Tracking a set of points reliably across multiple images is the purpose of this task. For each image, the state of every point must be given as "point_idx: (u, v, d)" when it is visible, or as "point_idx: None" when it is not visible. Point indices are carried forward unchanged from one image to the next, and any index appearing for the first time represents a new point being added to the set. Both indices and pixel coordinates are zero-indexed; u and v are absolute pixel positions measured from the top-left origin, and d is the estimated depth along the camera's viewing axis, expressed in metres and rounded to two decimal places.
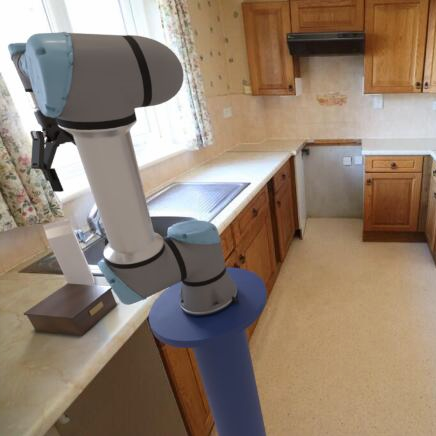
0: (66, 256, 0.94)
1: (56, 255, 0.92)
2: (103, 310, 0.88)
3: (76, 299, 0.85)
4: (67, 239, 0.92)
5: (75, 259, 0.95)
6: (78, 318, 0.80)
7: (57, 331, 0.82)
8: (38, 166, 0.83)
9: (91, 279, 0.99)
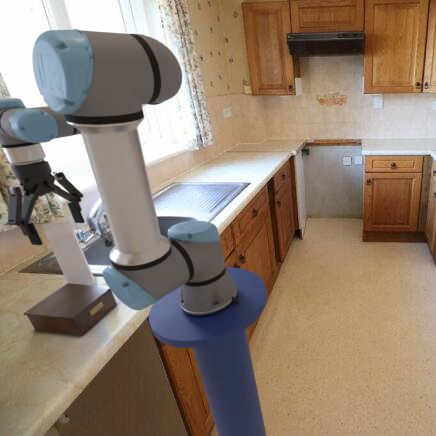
0: (66, 256, 0.94)
1: (56, 255, 0.92)
2: (103, 310, 0.88)
3: (76, 299, 0.85)
4: (67, 239, 0.92)
5: (75, 259, 0.95)
6: (78, 318, 0.80)
7: (57, 331, 0.82)
8: (15, 223, 0.81)
9: (91, 279, 0.99)
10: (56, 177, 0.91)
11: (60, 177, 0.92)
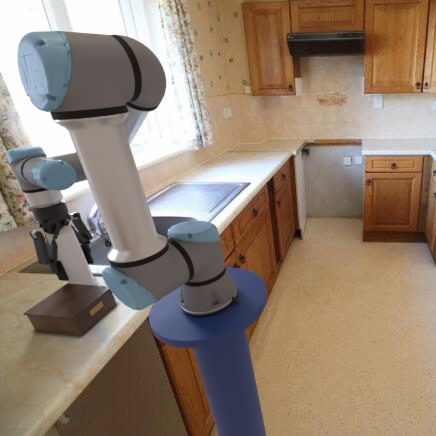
0: (66, 256, 0.94)
1: None
2: (103, 310, 0.88)
3: (76, 299, 0.85)
4: (67, 239, 0.92)
5: (75, 259, 0.95)
6: (78, 318, 0.80)
7: (57, 331, 0.82)
8: (45, 263, 0.89)
9: (91, 279, 0.99)
10: (72, 217, 0.96)
11: (76, 217, 0.97)
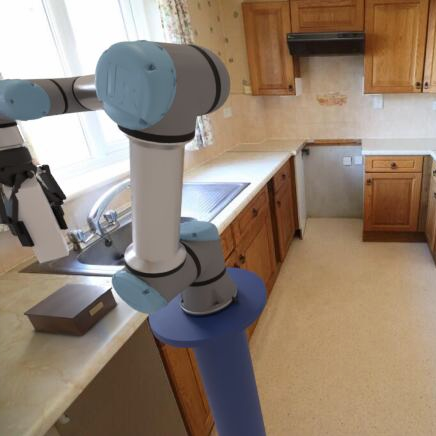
0: (31, 216, 0.76)
1: None
2: (103, 310, 0.88)
3: (76, 299, 0.85)
4: (31, 194, 0.75)
5: (42, 221, 0.77)
6: (78, 318, 0.80)
7: (57, 331, 0.82)
8: (2, 222, 0.71)
9: (63, 247, 0.82)
10: (39, 169, 0.79)
11: (44, 170, 0.79)
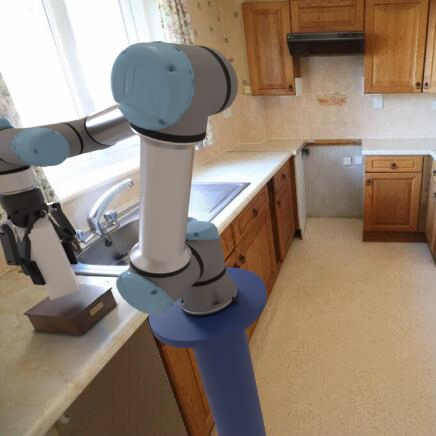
0: (42, 255, 0.76)
1: None
2: (103, 310, 0.88)
3: (76, 299, 0.85)
4: (43, 234, 0.75)
5: (54, 259, 0.78)
6: (78, 318, 0.80)
7: (57, 331, 0.82)
8: (15, 264, 0.71)
9: (74, 283, 0.82)
10: (50, 207, 0.79)
11: (55, 208, 0.80)
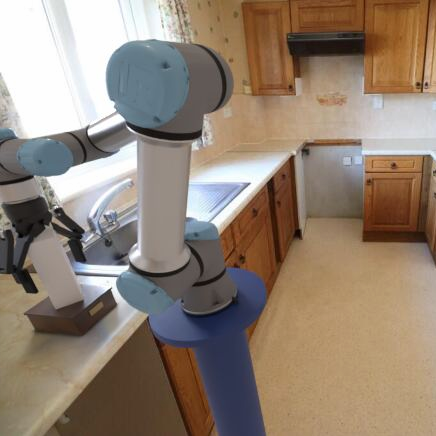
0: (48, 266, 0.78)
1: (35, 265, 0.76)
2: (103, 310, 0.88)
3: None
4: (48, 245, 0.77)
5: (59, 269, 0.79)
6: (78, 318, 0.80)
7: (57, 331, 0.82)
8: (6, 272, 0.70)
9: (78, 292, 0.84)
10: (54, 213, 0.80)
11: (58, 213, 0.81)
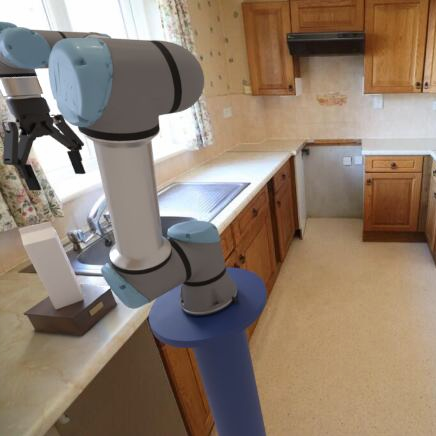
0: (48, 266, 0.78)
1: (35, 265, 0.76)
2: (103, 310, 0.88)
3: None
4: (48, 245, 0.77)
5: (59, 269, 0.79)
6: (78, 318, 0.80)
7: (57, 331, 0.82)
8: (11, 162, 0.74)
9: (78, 292, 0.84)
10: (55, 120, 0.84)
11: (59, 120, 0.85)
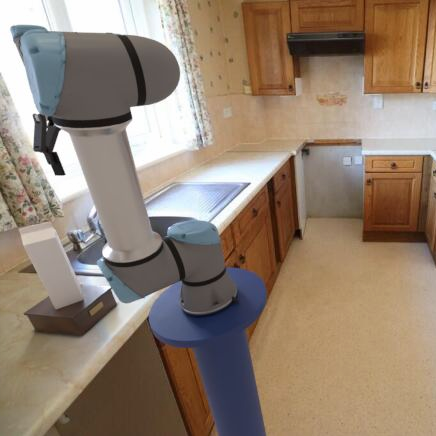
0: (48, 266, 0.78)
1: (35, 265, 0.76)
2: (103, 310, 0.88)
3: None
4: (48, 245, 0.77)
5: (59, 269, 0.79)
6: (78, 318, 0.80)
7: (57, 331, 0.82)
8: (40, 149, 0.83)
9: (78, 292, 0.84)
10: None
11: None
